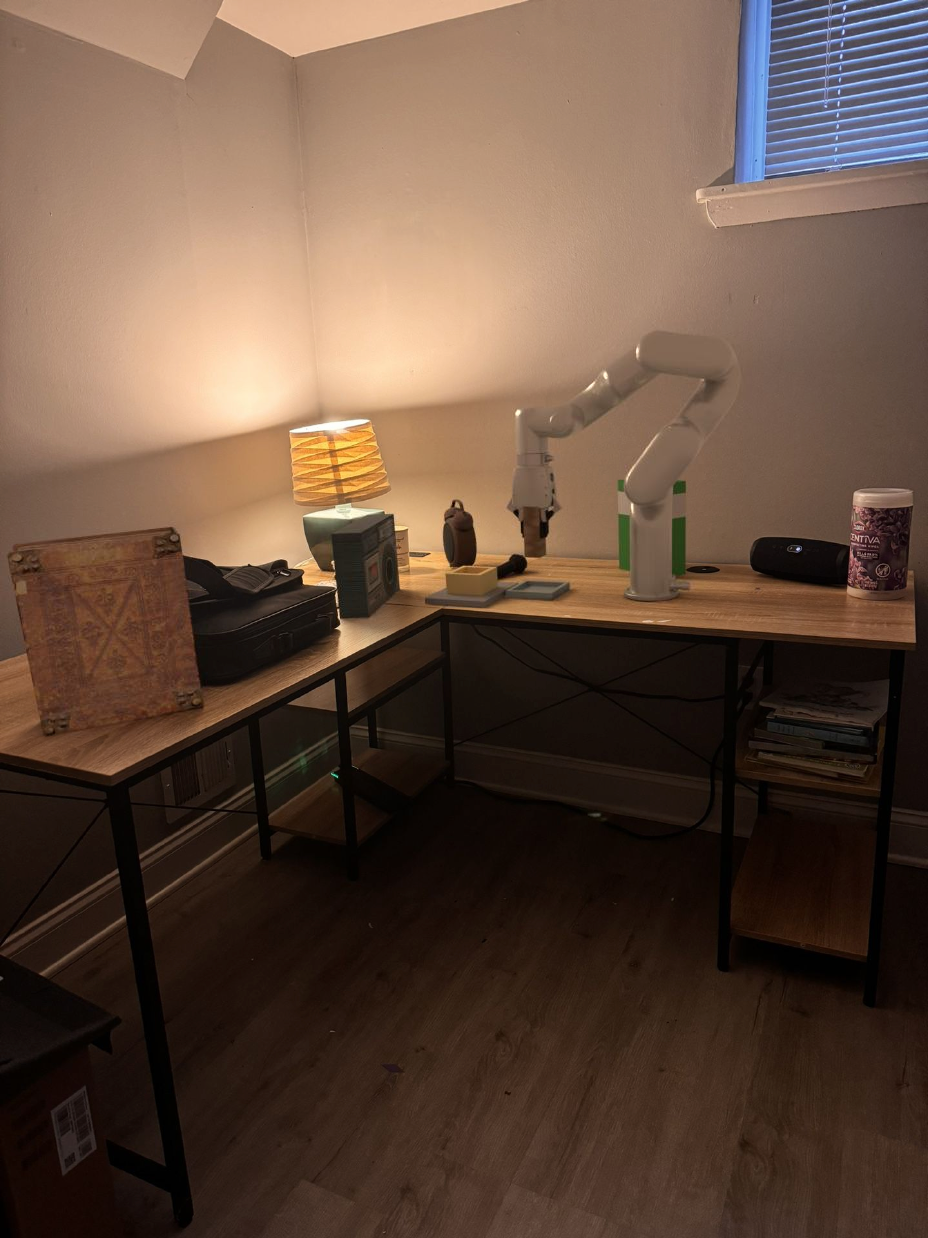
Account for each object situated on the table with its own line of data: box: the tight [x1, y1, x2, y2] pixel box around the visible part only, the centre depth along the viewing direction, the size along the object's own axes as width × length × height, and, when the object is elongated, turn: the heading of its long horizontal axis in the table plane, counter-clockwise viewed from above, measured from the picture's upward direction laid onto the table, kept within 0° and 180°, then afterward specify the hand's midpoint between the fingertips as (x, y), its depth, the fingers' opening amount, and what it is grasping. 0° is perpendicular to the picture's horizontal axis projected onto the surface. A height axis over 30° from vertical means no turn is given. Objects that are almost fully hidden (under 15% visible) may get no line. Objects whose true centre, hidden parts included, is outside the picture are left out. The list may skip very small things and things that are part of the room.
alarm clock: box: [442, 498, 478, 569], centre depth 243 cm, size 14×7×20 cm, turn 17°
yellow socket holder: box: [424, 565, 519, 609], centre depth 212 cm, size 16×20×6 cm
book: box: [6, 526, 205, 737], centre depth 142 cm, size 25×9×30 cm, turn 112°
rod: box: [523, 506, 547, 559], centre depth 207 cm, size 4×4×16 cm
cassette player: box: [330, 513, 401, 619], centre depth 211 cm, size 29×7×20 cm, turn 170°
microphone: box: [496, 553, 528, 579], centre depth 232 cm, size 6×6×20 cm
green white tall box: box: [617, 479, 687, 577], centre depth 225 cm, size 18×7×24 cm, turn 29°
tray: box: [505, 579, 571, 602], centre depth 211 cm, size 12×12×2 cm
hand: (534, 536), depth 208 cm, fingers closed on rod, 4 cm apart
